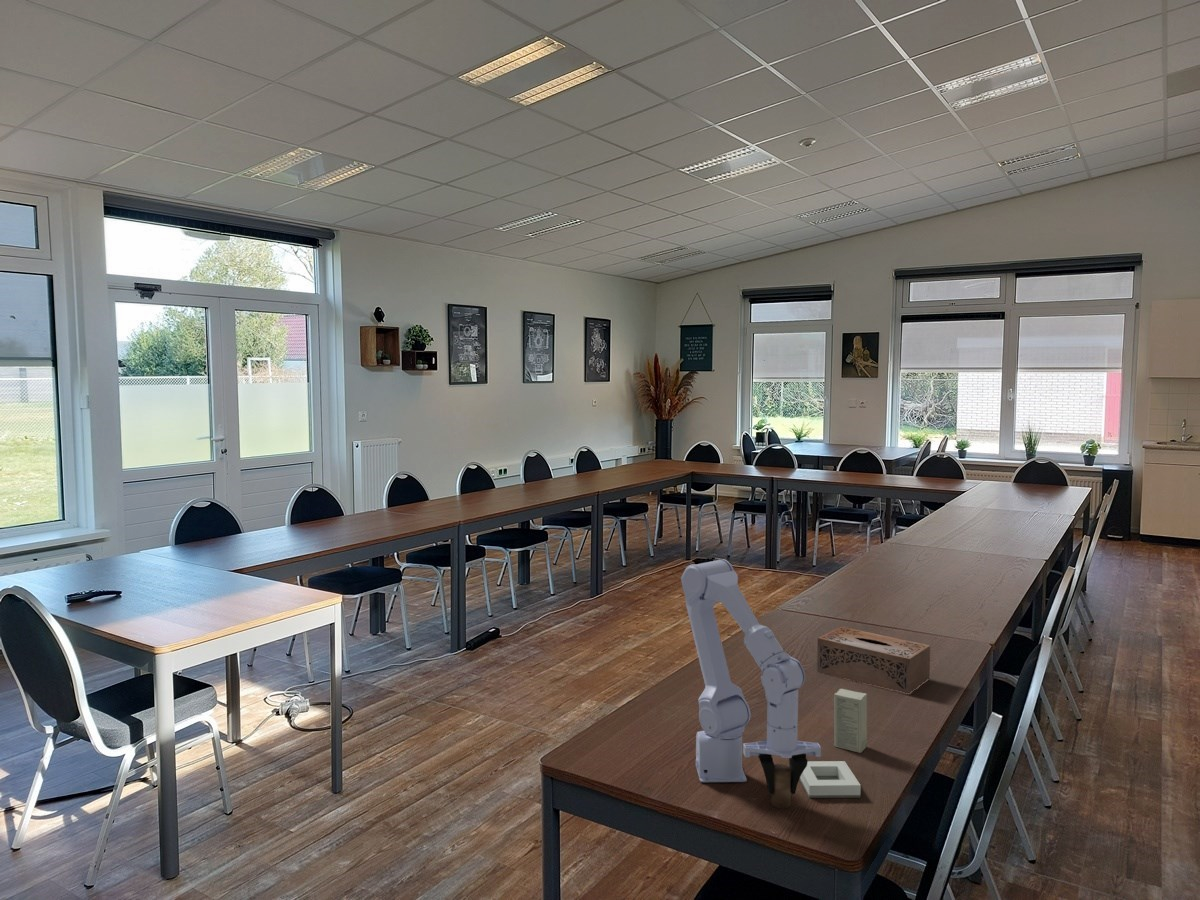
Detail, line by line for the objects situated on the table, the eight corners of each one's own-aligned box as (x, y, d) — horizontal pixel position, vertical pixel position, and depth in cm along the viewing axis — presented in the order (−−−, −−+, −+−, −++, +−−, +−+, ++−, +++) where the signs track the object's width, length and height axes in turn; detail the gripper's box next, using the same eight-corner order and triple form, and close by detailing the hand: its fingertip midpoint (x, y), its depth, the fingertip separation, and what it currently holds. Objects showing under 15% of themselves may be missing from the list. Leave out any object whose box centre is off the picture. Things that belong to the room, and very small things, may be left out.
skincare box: (867, 746, 178) (868, 693, 177) (860, 754, 174) (862, 700, 173) (839, 739, 182) (840, 687, 181) (832, 746, 178) (833, 693, 177)
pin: (773, 808, 152) (774, 773, 152) (769, 798, 156) (770, 764, 155) (792, 808, 152) (793, 773, 152) (788, 798, 156) (788, 764, 155)
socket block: (809, 797, 156) (809, 785, 156) (796, 773, 166) (796, 761, 166) (860, 797, 156) (860, 785, 156) (844, 772, 166) (844, 761, 166)
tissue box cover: (817, 672, 224) (817, 638, 224) (840, 659, 235) (841, 626, 234) (908, 696, 207) (909, 659, 206) (929, 681, 218) (930, 645, 217)
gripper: (748, 732, 149) (747, 802, 150) (826, 731, 149) (824, 801, 150) (741, 716, 156) (740, 783, 157) (815, 716, 156) (814, 783, 157)
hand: (781, 791), depth 154 cm, fingers closed on pin, 4 cm apart
